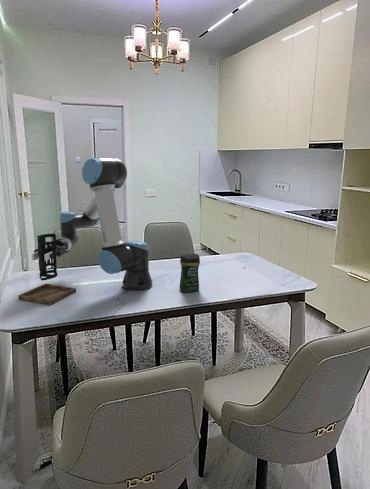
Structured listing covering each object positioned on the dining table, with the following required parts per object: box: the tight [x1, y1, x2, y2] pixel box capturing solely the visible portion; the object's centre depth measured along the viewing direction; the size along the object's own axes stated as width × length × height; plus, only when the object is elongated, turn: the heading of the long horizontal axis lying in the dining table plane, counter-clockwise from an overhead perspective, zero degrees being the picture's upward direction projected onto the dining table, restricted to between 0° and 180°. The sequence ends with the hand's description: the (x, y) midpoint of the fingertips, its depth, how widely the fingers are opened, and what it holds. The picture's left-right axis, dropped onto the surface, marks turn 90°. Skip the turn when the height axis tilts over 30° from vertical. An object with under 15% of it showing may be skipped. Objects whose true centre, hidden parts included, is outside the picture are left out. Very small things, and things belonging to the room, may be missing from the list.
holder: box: [36, 233, 58, 281], centre depth 171 cm, size 11×8×20 cm
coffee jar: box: [179, 253, 201, 293], centre depth 183 cm, size 10×8×19 cm
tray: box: [17, 283, 77, 306], centre depth 175 cm, size 18×18×2 cm
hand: (39, 257), depth 166 cm, fingers closed on holder, 5 cm apart
